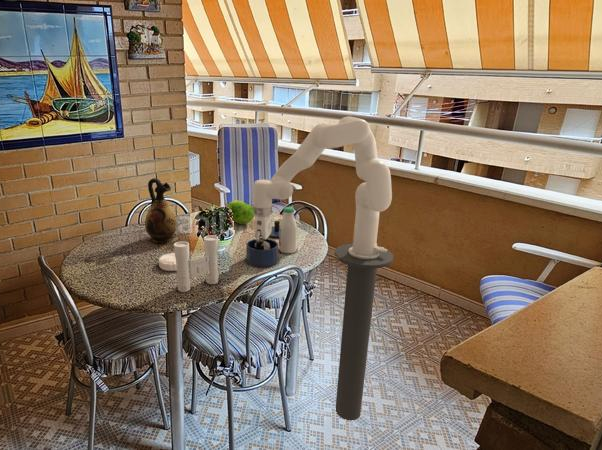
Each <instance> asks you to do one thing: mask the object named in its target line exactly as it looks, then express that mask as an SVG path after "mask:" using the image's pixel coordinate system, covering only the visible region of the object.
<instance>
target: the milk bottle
mask: <svg viewBox="0 0 602 450" xmlns="http://www.w3.org/2000/svg"><path fill="white" fill-rule="evenodd" d="M282 210H283V216H282V219H281V220H280V229H279V237H278V251H279V252H281V253H283V254H293V253H295V252H296V251H297V239H298V225H297V221H296V218H295V215H294V214H295V207H293V206H284V207H283V209H282Z"/></svg>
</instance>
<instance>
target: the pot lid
mask: <svg viewBox="0 0 602 450" xmlns="http://www.w3.org/2000/svg"><path fill="white" fill-rule="evenodd" d="M273 223H274V225H273V226H272V225H271V226H272V232H271V234H270V235H269V238H270V237H272V238H279V229H280V223H281V220H274V222H273Z"/></svg>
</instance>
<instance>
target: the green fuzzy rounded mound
mask: <svg viewBox="0 0 602 450" xmlns="http://www.w3.org/2000/svg"><path fill="white" fill-rule="evenodd" d="M227 207H229V208H230V209H231V210H232V213H233V218H232V220H233V221H232V220H231V221H232V222H234V223H237V224H238V225H239V224H240V225H246V224H249V223H250V222H251V221H253V219H255V215H254V206H252V205H251V204H249V203H247V202H245V201H243V200H237V199H235V200H232V201H230V202H229V203H227V204H226V208H227Z"/></svg>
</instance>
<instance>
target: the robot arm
mask: <svg viewBox="0 0 602 450" xmlns="http://www.w3.org/2000/svg"><path fill="white" fill-rule="evenodd" d="M350 145H352V147H353V152H354V162H355V172H356V175H357V177H358V178H359V179H360V180H362V181H364V182H362V183H360V184H359V185H358V186H357V188H356V190H355V196H354V197H355V218H354V225H353V226H354V227H353V238H352V243H353V247H351V248H350V249H349V251H348V252H349V254H350V255H351V256H353V257H356V258H359V259H375V258H377V257H378V256H379V253H385V254H387V250H388V249H387V248H385V247H383V246H379V245H378V243H377V240H378V234H379V233H378V231H379V224H380V223H379V222H380V213H381V212H384V211H386V210H387V209H388V208H389V207H390V206H391V204H392V201H393V190H392V189H393V188H392V176H391V175H392V174H391V170H390V168H389V166H388V164H386V163H385V162H384V161H382V160H380V159H379V155H378V146H377V140H376V137H375V135H374V132H372V130H371V126H370V124H369V122H368V121H367V120H365V119H363V118H359V117H356V116H355V117H354V116H350V115H349V116H343V117H342V118H341V119H339V121H338V123H336V124H327V123H318V124H316V125H315V126H314V127H312V129H311V130H310V132H309V133H308V134H307V136H306V137H305V138H304V140H303V141H302V142H301V143H300V145H299V146H298V148H297V149H296V150H295V152H294V153H293V154H292V155H290V156H289V157H288V158H287V159H286V160H285V161H284V162H283V163H282V164H281V165H280V166H279V168H278V169H277V170H276V171H275V173H274V174H273V175H272V177H271V179H270V180H269V179H257V180H255V181H254V182H253V208H254V215H255V216H254V239H256V249H257V250H264V245H263V242H264V241H266V242H268V243H269V239H270V236H269V235H270V234H271V232H272V214H273V200H281V201H282V200H287V199H289V198H291V197H292V195H293V193H294V187H293V185H292V184H291V181H292V180H293V179H294V177H295V176H296V175H298V173H301V171H304V170H306V169H309V168H311V167H312V166H313V165H314V164H315V163H316V161H317V160H318V159H319V158H320V156H321V155H322V153H323V152H324V151H325V149H327V150H329V149H337V148H341V147H345V146H350ZM260 240H262V242H261V241H260ZM378 246H379V247H378Z"/></svg>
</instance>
